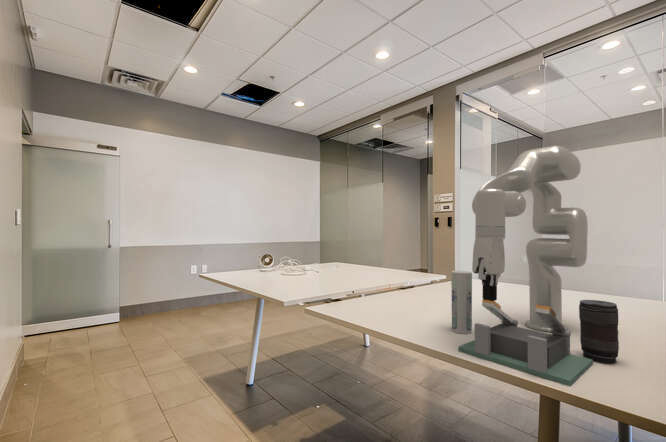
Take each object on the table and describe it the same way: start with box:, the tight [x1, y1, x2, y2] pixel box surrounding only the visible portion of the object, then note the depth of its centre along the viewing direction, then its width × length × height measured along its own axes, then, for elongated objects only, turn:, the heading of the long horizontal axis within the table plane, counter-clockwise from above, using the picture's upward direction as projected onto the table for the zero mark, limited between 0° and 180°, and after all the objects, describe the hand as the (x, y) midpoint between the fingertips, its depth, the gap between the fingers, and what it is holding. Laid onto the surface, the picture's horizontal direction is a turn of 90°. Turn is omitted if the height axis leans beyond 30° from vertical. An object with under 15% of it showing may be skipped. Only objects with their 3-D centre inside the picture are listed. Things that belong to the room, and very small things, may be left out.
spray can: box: [450, 270, 473, 335], centre depth 109 cm, size 6×6×20 cm
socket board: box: [457, 319, 594, 387], centre depth 86 cm, size 19×26×9 cm
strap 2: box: [535, 305, 566, 334], centre depth 82 cm, size 14×3×2 cm
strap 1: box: [481, 298, 514, 323], centre depth 92 cm, size 14×3×2 cm, turn 129°
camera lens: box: [578, 299, 620, 365], centre depth 86 cm, size 8×8×15 cm
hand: (489, 299), depth 88 cm, fingers closed
